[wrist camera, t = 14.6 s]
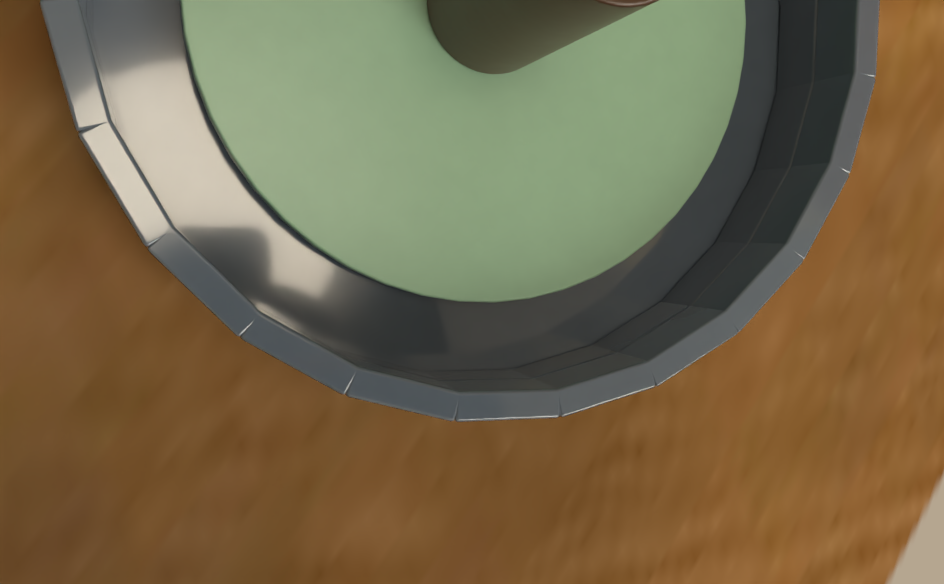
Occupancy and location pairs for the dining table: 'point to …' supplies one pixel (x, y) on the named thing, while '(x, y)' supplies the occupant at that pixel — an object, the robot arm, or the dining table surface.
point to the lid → (470, 128)
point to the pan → (477, 323)
